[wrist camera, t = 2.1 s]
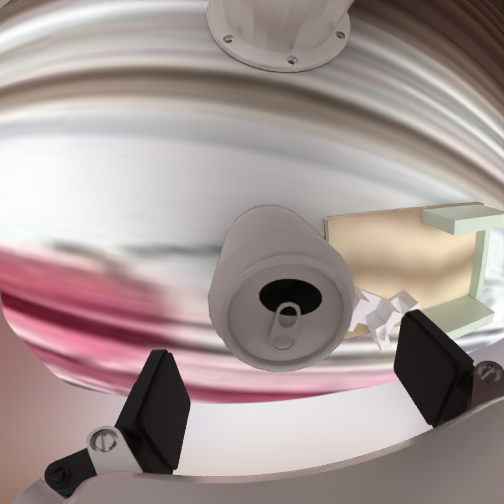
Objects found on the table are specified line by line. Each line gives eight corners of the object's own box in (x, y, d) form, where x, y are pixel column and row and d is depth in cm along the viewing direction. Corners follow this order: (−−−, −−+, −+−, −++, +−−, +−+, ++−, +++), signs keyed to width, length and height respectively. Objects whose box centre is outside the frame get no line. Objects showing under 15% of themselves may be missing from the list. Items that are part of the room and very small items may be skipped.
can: (320, 212, 22) (388, 256, 11) (301, 293, 24) (338, 386, 13) (231, 197, 22) (212, 227, 10) (219, 282, 24) (197, 375, 12)
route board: (324, 217, 22) (327, 219, 21) (478, 202, 22) (483, 203, 21) (328, 335, 26) (331, 341, 25) (468, 298, 25) (472, 301, 24)
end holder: (421, 209, 21) (454, 220, 16) (482, 204, 21) (513, 212, 16) (412, 321, 25) (436, 346, 20) (471, 301, 24) (495, 320, 20)
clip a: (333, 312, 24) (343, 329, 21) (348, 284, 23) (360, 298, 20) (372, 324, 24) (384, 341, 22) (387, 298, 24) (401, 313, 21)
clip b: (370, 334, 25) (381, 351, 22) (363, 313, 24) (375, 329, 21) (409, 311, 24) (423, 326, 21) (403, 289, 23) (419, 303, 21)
